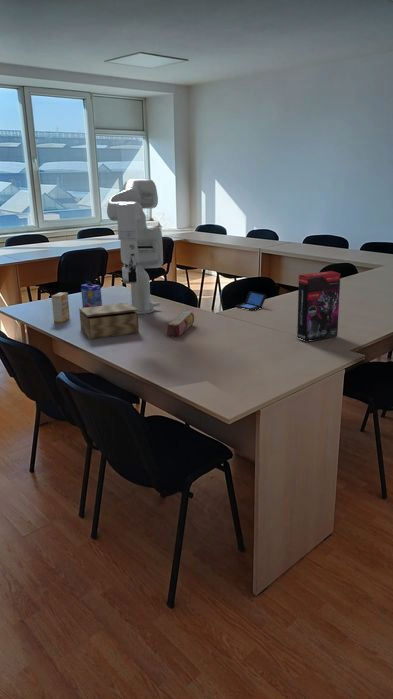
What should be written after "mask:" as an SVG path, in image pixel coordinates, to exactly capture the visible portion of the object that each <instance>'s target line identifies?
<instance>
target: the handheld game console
mask: <svg viewBox="0 0 393 699" xmlns="http://www.w3.org/2000/svg"><path fill="white" fill-rule="evenodd" d="M266 298H267V294H266V293H261V292H258V291H253V290H252V291H251V290H250V291H248V293H247V296H246V298H245V301H243V303H240V304H236V305H235V308H236V309H237V308H238V309H241V308H245V309H249V310H255V309H259V308H262V309H263V305H264V303H265V300H266ZM245 309H244V310H245ZM249 310H248V311H249ZM259 310H260V309H259ZM255 311H256V310H255Z"/></svg>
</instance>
